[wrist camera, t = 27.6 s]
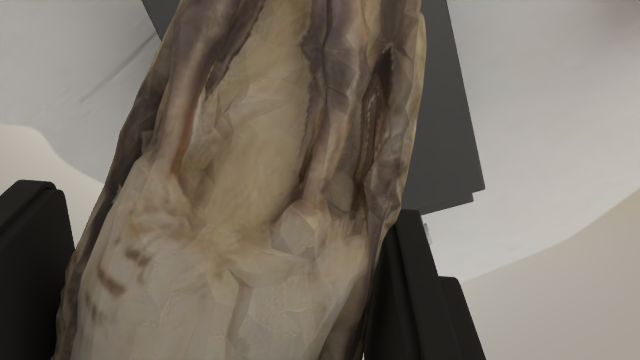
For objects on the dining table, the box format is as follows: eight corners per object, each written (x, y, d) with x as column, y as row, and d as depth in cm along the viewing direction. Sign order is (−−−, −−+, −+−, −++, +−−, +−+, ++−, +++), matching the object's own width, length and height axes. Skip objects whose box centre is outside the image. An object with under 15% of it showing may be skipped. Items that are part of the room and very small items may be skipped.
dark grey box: (447, 120, 35) (485, 189, 27) (276, 170, 37) (261, 250, 29) (393, -111, 29) (422, -118, 20) (189, -34, 31) (136, -10, 22)
